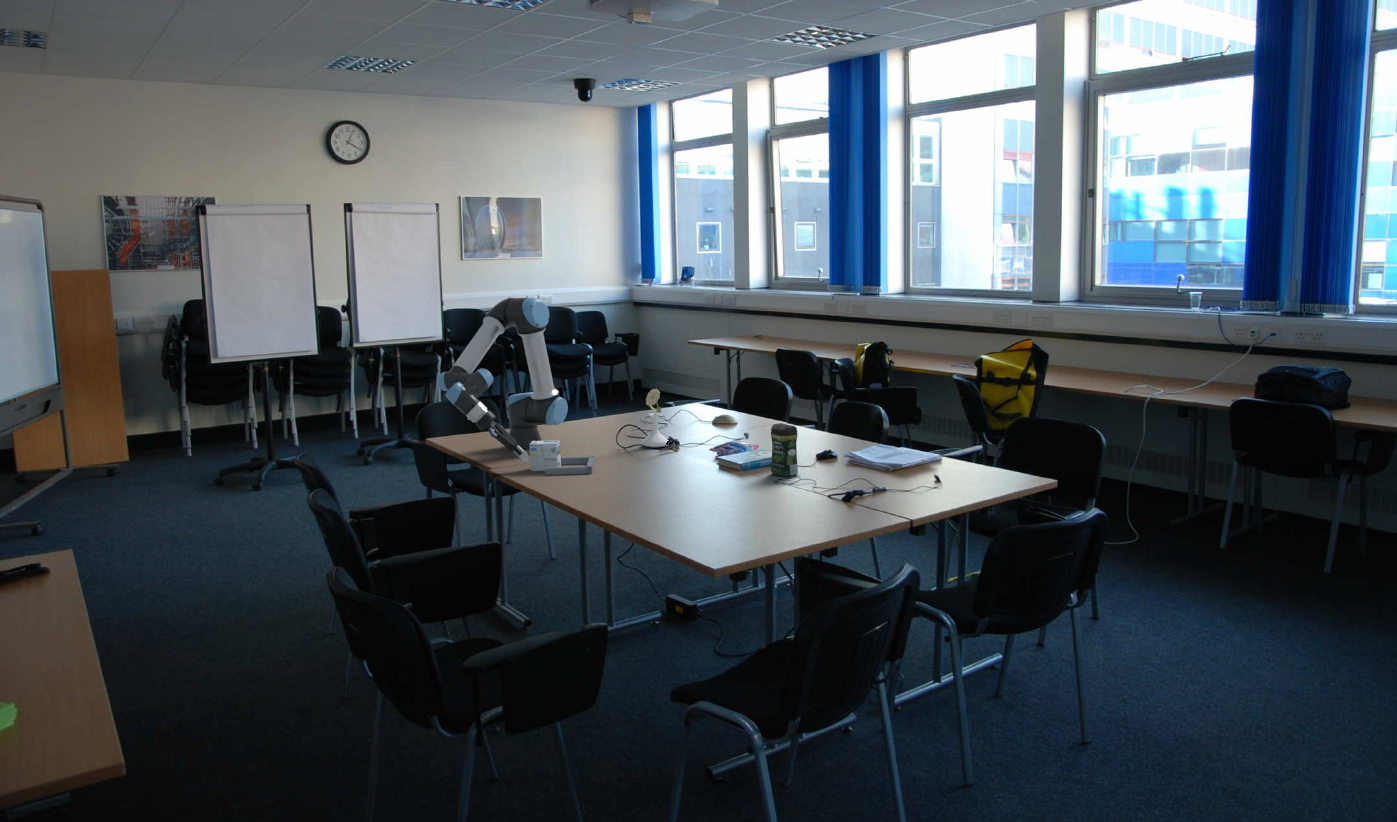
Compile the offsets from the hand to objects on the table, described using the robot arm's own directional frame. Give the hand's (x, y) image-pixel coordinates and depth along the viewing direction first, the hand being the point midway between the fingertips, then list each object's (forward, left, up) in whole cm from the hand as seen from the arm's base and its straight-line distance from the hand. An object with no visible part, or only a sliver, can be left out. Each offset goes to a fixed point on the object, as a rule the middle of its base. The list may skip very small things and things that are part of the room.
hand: (528, 459), depth 366 cm
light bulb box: (-1, +6, -4) cm, 8 cm away
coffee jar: (+21, +94, -4) cm, 97 cm away
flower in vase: (-39, +48, -4) cm, 63 cm away
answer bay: (-1, +15, -4) cm, 16 cm away
